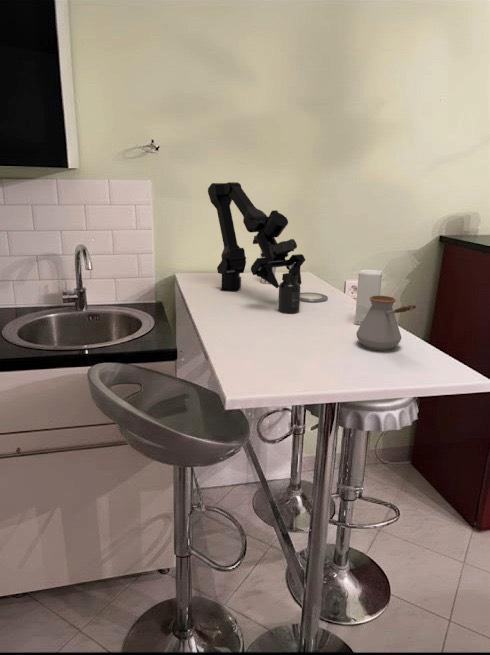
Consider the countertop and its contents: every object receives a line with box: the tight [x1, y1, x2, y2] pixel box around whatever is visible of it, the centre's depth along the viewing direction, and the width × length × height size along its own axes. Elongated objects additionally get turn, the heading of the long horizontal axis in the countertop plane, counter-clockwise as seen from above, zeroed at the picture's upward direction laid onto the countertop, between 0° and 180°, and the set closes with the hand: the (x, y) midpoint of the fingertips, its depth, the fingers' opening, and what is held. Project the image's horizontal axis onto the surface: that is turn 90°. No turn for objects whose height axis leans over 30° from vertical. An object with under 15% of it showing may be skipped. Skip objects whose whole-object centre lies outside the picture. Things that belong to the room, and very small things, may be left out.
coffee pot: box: [355, 295, 420, 352], centre depth 128 cm, size 21×12×15 cm, turn 13°
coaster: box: [300, 291, 329, 303], centre depth 182 cm, size 12×12×1 cm
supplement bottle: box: [277, 272, 301, 314], centre depth 163 cm, size 7×7×12 cm
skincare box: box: [354, 268, 383, 326], centre depth 153 cm, size 8×7×16 cm
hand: (289, 285), depth 163 cm, fingers open, 9 cm apart
